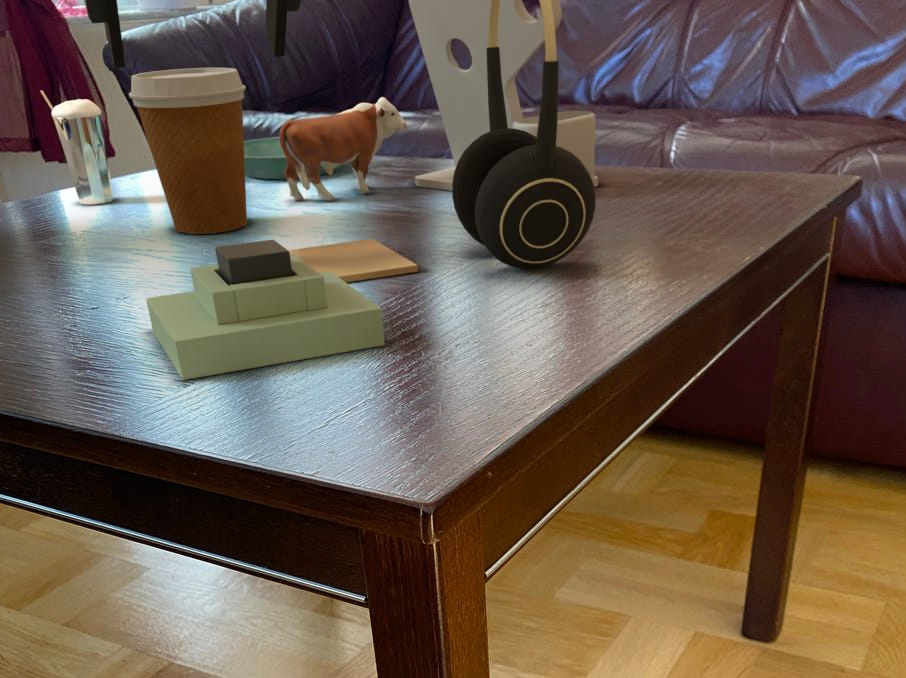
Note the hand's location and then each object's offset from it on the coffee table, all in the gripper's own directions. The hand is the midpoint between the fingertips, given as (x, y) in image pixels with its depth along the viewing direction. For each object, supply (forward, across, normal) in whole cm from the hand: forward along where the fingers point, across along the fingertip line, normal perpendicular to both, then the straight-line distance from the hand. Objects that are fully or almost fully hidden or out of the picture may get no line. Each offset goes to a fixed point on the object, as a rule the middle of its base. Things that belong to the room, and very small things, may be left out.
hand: (197, 46), depth 75 cm
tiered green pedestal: (-8, -2, -28) cm, 29 cm away
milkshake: (+31, -9, +10) cm, 33 cm away
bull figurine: (+23, +15, +2) cm, 27 cm away
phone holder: (+20, +30, -1) cm, 36 cm away
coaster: (+3, +6, -17) cm, 18 cm away
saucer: (+35, +13, +14) cm, 40 cm away
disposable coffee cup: (+17, 0, -3) cm, 18 cm away
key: (-10, -2, -25) cm, 27 cm away
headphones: (0, +19, -21) cm, 28 cm away
